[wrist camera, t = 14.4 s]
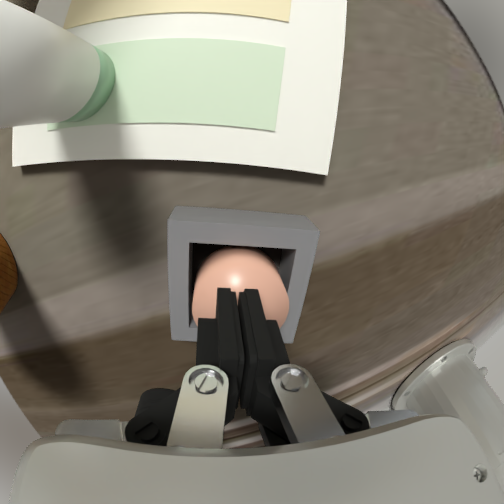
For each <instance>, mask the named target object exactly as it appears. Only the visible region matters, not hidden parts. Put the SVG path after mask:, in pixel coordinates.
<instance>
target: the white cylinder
mask: <svg viewBox="0 0 504 504" xmlns="http://www.w3.org/2000/svg"><path fill="white" fill-rule="evenodd" d="M114 83H115V67H114V64H113V61H112V60H111V58H110V57H109V56H108V55H107V54H106V53H105V52H103V51H101V50H100V49H98V48H96V47H95V46H93V45H91V44H90V43H88V42H86V41H85V40H83V39H81V38H80V37H78V36H76V35H74V34H72V33H71V32H69V31H67V30H65V29H63V28H62V27H60V26H58V25H56V24H54V23H52V22H50V21H48V20H46V19H44V18H42V17H40V16H38V15H36V14H34V13H32V12H30V11H28V10H26V9H24V8H21V7H19V6H17V5H15V4H12V3H10V2H8V1H5V0H0V129H1V128H8V127H16V126H24V125H34V124H46V123H62V122H79V121H83V120H85V119H88V118H89V117H91V116H93V115H94V114H95V113H97V112H98V111H99V110H100V109H101V108H102V107H103V106H104V104H105V103H106V102H107V100H108V98H109V97H110V95H111V92H112V90H113V87H114Z"/></svg>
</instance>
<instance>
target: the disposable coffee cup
mask: <svg viewBox="0 0 504 504" xmlns="http://www.w3.org/2000/svg"><path fill="white" fill-rule="evenodd" d="M17 279H18V276H17V268H16V264H15V261H14V258H13V255H12V253H11V250H10V248H9V246H8V244H7V243H6V241H5V239H4V238H3V237H2V235H1V234H0V314H1V312H2V311H3V309H4V307H5V305H6V304H7V302H8V301H9V299H10V298H11V296H12V295H13V293H14V292H15V290H16V288H17Z"/></svg>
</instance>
